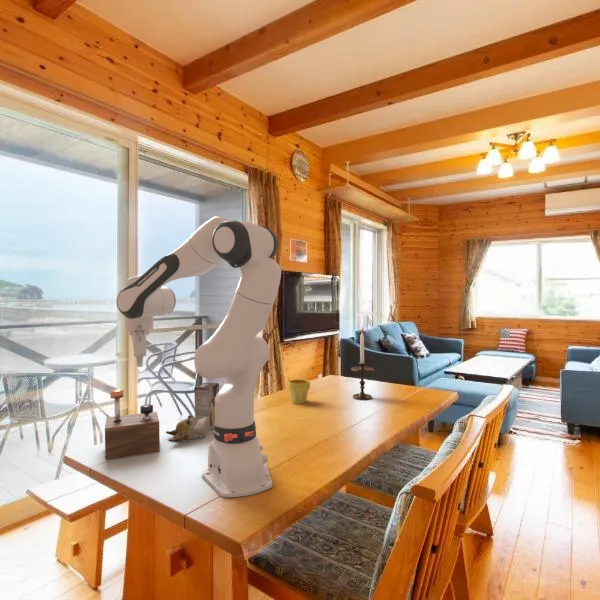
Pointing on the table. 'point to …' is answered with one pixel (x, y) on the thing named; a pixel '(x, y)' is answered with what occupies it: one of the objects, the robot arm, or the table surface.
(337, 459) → the table surface
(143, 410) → the black knob plunger
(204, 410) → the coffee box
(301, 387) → the plant pot
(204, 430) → the ceramic sculpture
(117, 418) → the terracotta knob plunger
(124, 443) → the block
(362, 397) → the candlestick
